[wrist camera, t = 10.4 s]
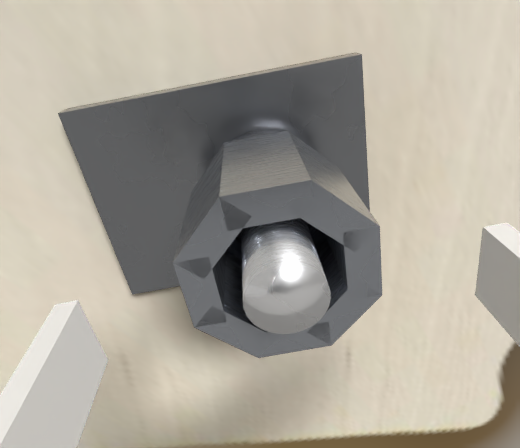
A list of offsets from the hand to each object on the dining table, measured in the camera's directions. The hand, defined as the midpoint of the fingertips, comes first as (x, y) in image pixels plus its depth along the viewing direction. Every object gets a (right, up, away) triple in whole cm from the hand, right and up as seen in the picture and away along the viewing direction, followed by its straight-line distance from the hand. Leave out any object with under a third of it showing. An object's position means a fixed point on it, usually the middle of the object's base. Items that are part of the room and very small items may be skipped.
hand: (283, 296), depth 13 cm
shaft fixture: (-2, +5, +11) cm, 12 cm away
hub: (0, +3, +7) cm, 8 cm away
